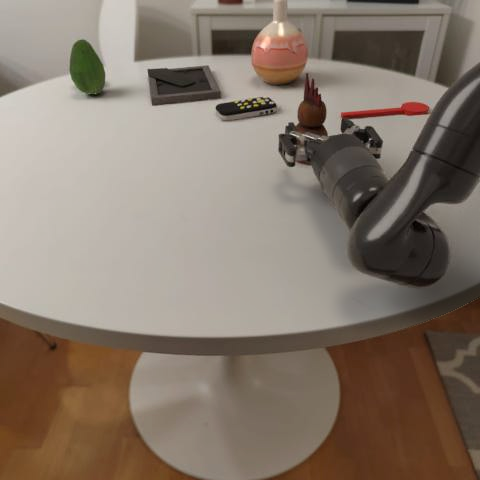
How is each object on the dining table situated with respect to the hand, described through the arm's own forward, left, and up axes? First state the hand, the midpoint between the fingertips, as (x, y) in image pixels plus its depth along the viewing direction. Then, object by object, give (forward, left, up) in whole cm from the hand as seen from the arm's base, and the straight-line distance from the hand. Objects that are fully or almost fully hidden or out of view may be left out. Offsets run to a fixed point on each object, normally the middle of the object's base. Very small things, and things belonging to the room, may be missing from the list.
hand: (316, 125), depth 72 cm
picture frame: (+20, -50, -9) cm, 55 cm away
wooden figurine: (0, -3, -9) cm, 9 cm away
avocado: (+42, -50, -9) cm, 66 cm away
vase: (-4, -49, -9) cm, 50 cm away
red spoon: (-21, -23, -8) cm, 32 cm away
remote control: (+7, -30, -9) cm, 32 cm away
